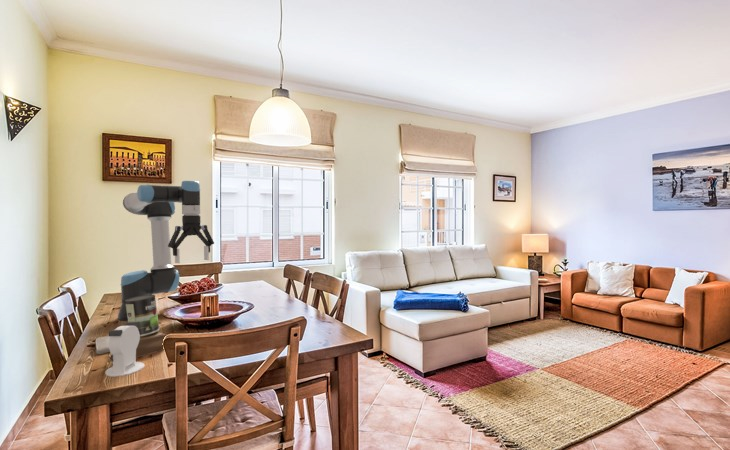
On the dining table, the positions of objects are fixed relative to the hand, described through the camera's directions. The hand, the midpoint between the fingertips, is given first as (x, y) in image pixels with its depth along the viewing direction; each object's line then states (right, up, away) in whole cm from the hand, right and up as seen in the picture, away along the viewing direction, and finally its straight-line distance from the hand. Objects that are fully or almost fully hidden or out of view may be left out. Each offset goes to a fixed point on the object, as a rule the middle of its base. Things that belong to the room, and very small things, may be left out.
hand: (192, 261), depth 171 cm
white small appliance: (-4, -33, -42) cm, 54 cm away
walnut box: (-8, -33, -24) cm, 42 cm away
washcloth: (-24, -33, -19) cm, 45 cm away
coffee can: (-8, -26, -23) cm, 36 cm away
